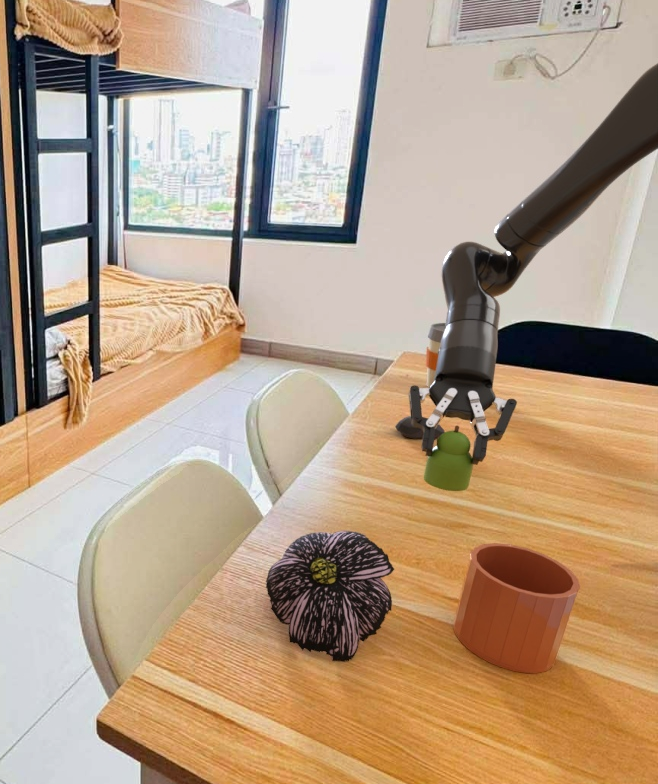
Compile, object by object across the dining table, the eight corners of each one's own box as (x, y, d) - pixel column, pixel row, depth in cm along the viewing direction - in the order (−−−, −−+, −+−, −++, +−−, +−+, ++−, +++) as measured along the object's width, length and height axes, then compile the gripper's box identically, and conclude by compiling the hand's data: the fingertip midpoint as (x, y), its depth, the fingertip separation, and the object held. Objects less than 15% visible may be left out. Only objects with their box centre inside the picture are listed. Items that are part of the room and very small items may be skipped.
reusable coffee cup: (410, 386, 156) (421, 328, 151) (429, 376, 164) (440, 320, 159) (466, 399, 148) (480, 338, 143) (483, 387, 156) (496, 328, 151)
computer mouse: (448, 439, 126) (452, 421, 125) (404, 440, 126) (407, 422, 125) (431, 428, 132) (435, 410, 130) (389, 429, 131) (392, 412, 130)
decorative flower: (238, 546, 74) (335, 490, 78) (235, 597, 82) (323, 543, 86) (330, 648, 64) (436, 577, 68) (317, 695, 72) (413, 629, 76)
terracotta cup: (564, 641, 73) (588, 569, 69) (543, 688, 66) (568, 610, 63) (468, 601, 80) (485, 533, 76) (440, 639, 73) (458, 567, 70)
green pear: (473, 482, 93) (486, 425, 89) (460, 495, 89) (473, 437, 86) (431, 469, 97) (442, 415, 94) (417, 481, 93) (428, 425, 90)
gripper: (415, 338, 96) (397, 438, 90) (529, 350, 89) (517, 459, 83) (411, 362, 102) (394, 457, 96) (517, 375, 95) (506, 478, 89)
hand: (451, 457), depth 90 cm, fingers closed on green pear, 5 cm apart
